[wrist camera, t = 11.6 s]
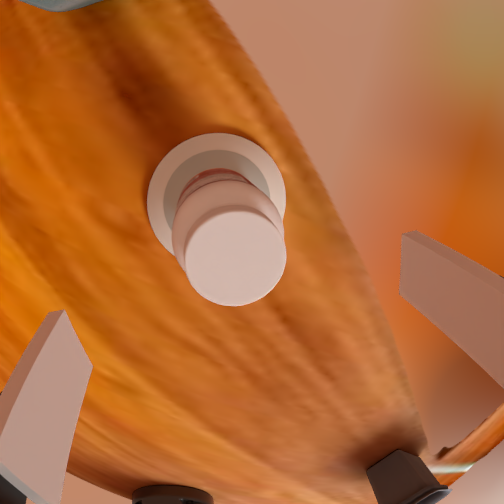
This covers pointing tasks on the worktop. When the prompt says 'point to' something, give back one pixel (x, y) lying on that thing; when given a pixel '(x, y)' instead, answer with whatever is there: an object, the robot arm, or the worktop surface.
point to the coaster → (203, 158)
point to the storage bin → (405, 481)
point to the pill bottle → (228, 238)
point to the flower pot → (60, 4)
